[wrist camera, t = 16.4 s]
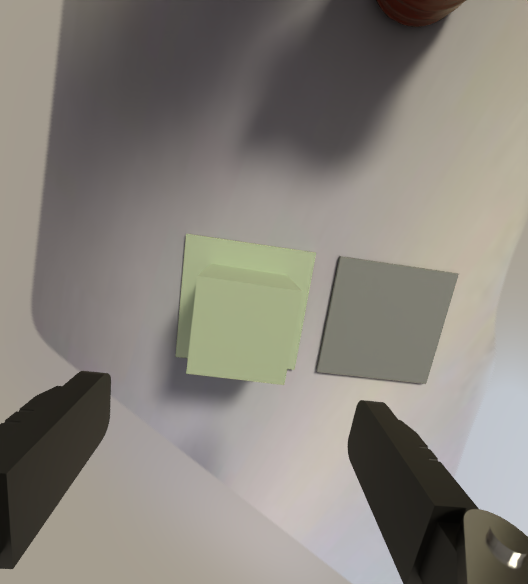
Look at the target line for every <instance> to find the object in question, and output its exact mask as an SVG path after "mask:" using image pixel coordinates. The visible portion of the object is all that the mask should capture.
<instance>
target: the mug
mask: <svg viewBox="0 0 528 584" xmlns="http://www.w3.org/2000/svg"><path fill="white" fill-rule="evenodd" d="M376 1H377V3H378V4H379V6H380V8H381V9H382V11H383V12H384V13H385V14H386V15H387V16H388V17H390V18H391V19H393V20H394V21H396V22H398V23H401V24H403V25H407V26H413V27H420V26H426V25H430V24H433V23H435V22H437V21H439V20H441V19H442V18H444V17H445V16H447V15H448V14H449V13H451V12H452V11H454V10H455V9H457V8H458V7H459V6H460V5H461V4H462V3H463V2H465V1H466V0H376Z"/></svg>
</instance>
